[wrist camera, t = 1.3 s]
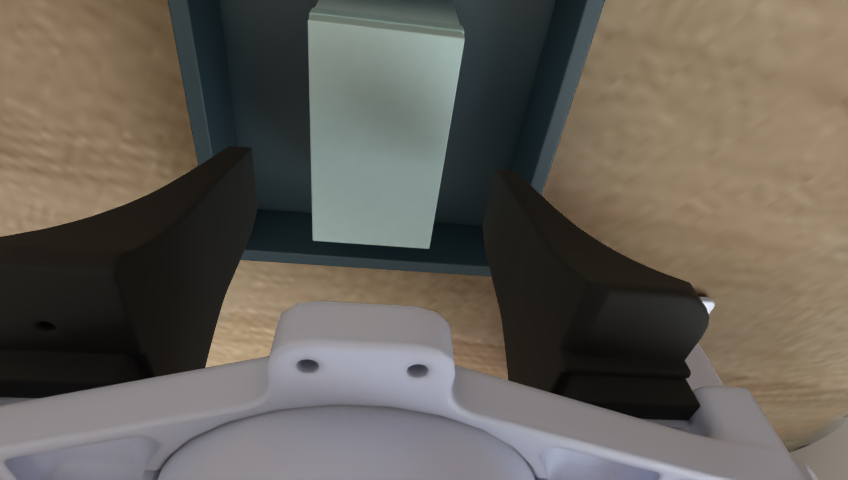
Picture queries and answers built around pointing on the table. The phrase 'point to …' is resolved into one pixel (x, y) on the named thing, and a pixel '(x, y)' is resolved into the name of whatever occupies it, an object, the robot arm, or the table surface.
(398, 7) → the case
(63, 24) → the table surface
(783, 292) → the table surface
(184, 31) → the tray
